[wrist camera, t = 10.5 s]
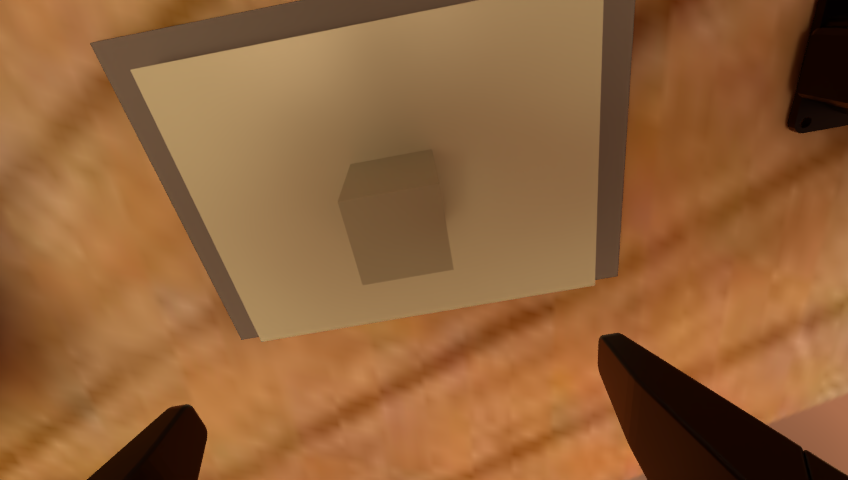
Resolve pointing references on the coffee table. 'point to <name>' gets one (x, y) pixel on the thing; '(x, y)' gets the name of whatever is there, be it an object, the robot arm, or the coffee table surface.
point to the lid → (395, 161)
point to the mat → (324, 10)
